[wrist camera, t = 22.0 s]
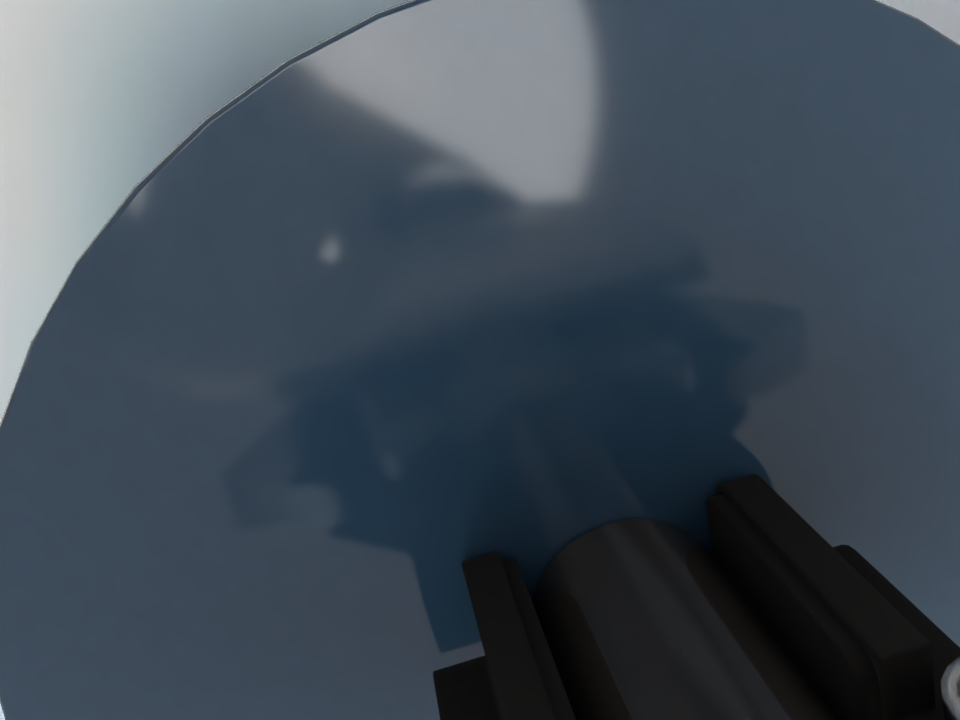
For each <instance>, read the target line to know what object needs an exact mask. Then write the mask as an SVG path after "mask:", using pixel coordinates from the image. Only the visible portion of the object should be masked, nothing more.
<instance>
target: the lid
mask: <svg viewBox="0 0 960 720" xmlns="http://www.w3.org/2000/svg"><path fill="white" fill-rule="evenodd" d="M751 474H757V475H758V476H760V477H761V478H762V479H763V480H764V481H765V482H766V483H767V484H768V485H769V486H770V487H771V488H772V489H773V490H774V491H775V492H776V493H777V494H778V495H779V496H780V497H781V498H782V499H784V500H785V501H786V502H787V503H788V504H789V505H790V506H791V507H792V508H793V509H794V510H795V511H796V512H797V513H798V514H799V515H800V516H801V517H802V518H803V519H804V520H805V521H806V522H807V523H808V524H809V525H810V526H811V527H812V528H813V529H814V530H815V531H816V532H817V533H818V534H819V535H820V536H821V537H822V538H824V539H825V540H826V541H827V542H828V543H829V544H830V545H831V546H832V547H836V546H839V545H842V544H843V545H849V546H850V547H852V548H853V549H855V550H856V551H857V552H858V553H859V554H860V555H862V556H863V557H864V558H865V559H866V560H867V561H868V562H869V563H870V564H871V565H872V566H873V567H874V568H875V569H876V570H878V571H879V572H880V573H881V574H882V575H883V576H884V577H885V578H886V579H887V580H888V581H889V582H890V583H891V584H892V585H894V586H895V587H896V588H897V589H898V590H899V591H900V592H901V593H902V594H903V595H904V596H905V597H906V598H907V599H908V600H910V601H911V602H912V603H913V604H914V605H915V606H916V607H917V608H918V609H919V610H920V611H921V612H922V613H923V614H924V615H926V616H927V617H928V618H929V619H930V620H931V621H932V622H933V623H934V624H935V625H936V626H937V627H938V628H939V629H940V630H942V631H943V632H944V633H945V634H946V635H947V636H948V637H949V638H950V639H951V640H952V641H953V642H954V643H955V644H956V645H958V646H959V647H960V45H959V44H957V43H955V42H954V41H952V40H951V39H949V38H948V37H946V36H944V35H943V34H941V33H940V32H938V31H937V30H935V29H934V28H932V27H930V26H929V25H927V24H926V23H924V22H923V21H921V20H920V19H918V18H916V17H914V16H911V15H909V14H907V13H904V12H902V11H900V10H897V9H895V8H893V7H890V6H888V5H886V4H884V3H881V2H879V1H877V0H411V1H408V2H405V3H403V4H400V5H397V6H394V7H391V8H389V9H386V10H383V11H380V12H377V13H375V14H373V15H371V16H370V17H368V18H366V19H364V20H362V21H360V22H358V23H356V24H354V25H352V26H350V27H349V28H347V29H345V30H343V31H341V32H339V33H337V34H335V35H333V36H331V37H329V38H328V39H326V40H324V41H322V42H320V43H318V44H316V45H314V46H312V47H310V48H308V49H307V50H305V51H303V52H301V53H299V54H297V55H295V56H293V57H291V58H289V59H287V60H286V61H285V62H283V63H282V64H281V65H279V66H278V67H276V68H275V69H274V70H272V71H271V72H269V73H268V74H267V75H265V76H264V77H262V78H261V79H260V80H258V81H257V82H255V83H254V84H253V85H251V86H250V87H249V88H247V89H246V90H244V91H243V92H242V93H240V94H239V95H237V96H236V97H235V98H233V99H232V100H230V101H229V102H228V103H226V104H225V105H223V106H222V107H221V108H219V109H218V110H217V111H215V112H214V113H212V114H211V115H210V116H208V117H207V118H206V119H204V120H203V121H202V122H201V123H200V124H199V125H198V126H197V127H196V128H195V129H194V130H193V131H192V132H191V133H190V134H189V135H188V136H187V137H186V138H185V139H184V140H183V141H182V142H181V143H180V144H178V145H177V146H176V147H175V148H174V149H173V150H172V151H171V152H170V153H169V154H168V155H167V156H166V157H165V158H164V159H163V160H162V161H161V162H160V163H159V164H158V165H157V166H156V167H155V168H153V169H152V170H151V171H150V172H149V173H148V174H147V175H146V176H145V177H144V178H143V179H142V180H141V181H140V182H139V183H138V184H137V185H136V186H135V187H134V188H133V189H132V191H131V192H130V193H129V195H128V196H127V197H126V198H125V200H124V201H123V202H122V204H121V205H120V206H119V207H118V209H117V210H116V211H115V213H114V214H113V215H112V216H111V218H110V219H109V220H108V222H107V223H106V224H105V225H104V227H103V228H102V229H101V231H100V232H99V233H98V234H97V236H96V237H95V238H94V240H93V241H92V242H91V243H90V245H89V246H88V247H87V249H86V250H85V251H84V252H83V254H82V255H81V256H80V258H79V259H78V260H77V261H76V263H75V265H74V267H73V268H72V270H71V272H70V274H69V276H68V277H67V279H66V281H65V283H64V284H63V286H62V288H61V290H60V291H59V293H58V295H57V297H56V299H55V300H54V302H53V304H52V306H51V307H50V309H49V311H48V313H47V315H46V316H45V318H44V320H43V322H42V323H41V325H40V327H39V329H38V331H37V332H36V334H35V336H34V338H33V339H32V341H31V344H30V346H29V349H28V351H27V354H26V357H25V359H24V362H23V365H22V367H21V370H20V373H19V375H18V378H17V381H16V383H15V386H14V389H13V391H12V394H11V397H10V399H9V402H8V405H7V407H6V410H5V412H4V415H3V418H2V420H1V423H0V703H1V706H2V709H3V713H4V716H5V720H440V715H439V709H438V703H437V697H436V691H435V685H434V679H433V671H436V670H439V669H442V668H446V667H449V666H452V665H455V664H459V663H462V662H465V661H468V660H471V659H475V658H478V657H481V656H484V655H485V653H484V649H483V645H482V641H481V637H480V634H479V630H478V626H477V622H476V618H475V614H474V611H473V607H472V603H471V599H470V595H469V591H468V588H467V584H466V580H465V576H464V572H463V568H462V565H461V562H464V561H467V560H470V559H473V558H477V557H480V556H483V555H487V554H490V553H493V552H497V551H498V553H499V556H500V559H501V561H503V560H506V559H509V558H513V557H516V560H517V563H518V565H519V568H520V571H521V573H522V576H523V579H524V581H525V584H526V587H527V589H528V592H529V595H530V597H531V600H532V603H533V605H534V608H535V611H536V614H537V616H538V619H539V622H540V624H541V627H542V630H543V632H544V635H545V638H546V640H547V643H548V646H549V648H550V651H551V654H552V656H553V659H554V662H555V664H556V667H557V670H558V672H559V675H560V678H561V681H562V683H563V686H564V689H565V691H566V694H567V697H568V699H569V702H570V705H571V707H572V710H573V713H574V715H575V718H576V720H840V719H839V718H838V717H837V715H836V714H835V713H834V712H833V710H832V709H831V708H830V706H829V705H828V704H827V703H826V701H825V700H824V699H823V697H822V696H821V695H820V693H819V692H818V691H817V690H816V688H815V687H814V686H813V684H812V683H811V682H810V681H809V679H808V678H807V677H806V675H805V674H804V673H803V671H802V670H801V669H800V668H799V666H798V665H797V664H796V662H795V661H794V660H793V659H792V657H791V656H790V655H789V653H788V652H787V651H786V650H785V648H784V647H783V646H782V644H781V643H780V642H779V640H778V639H777V638H776V637H775V635H774V634H773V633H772V631H771V630H770V629H769V628H768V626H767V625H766V624H765V622H764V621H763V620H762V618H761V617H760V616H759V615H758V613H757V612H756V611H755V609H754V608H753V607H752V606H751V604H750V603H749V602H748V600H747V599H746V598H745V596H744V595H743V594H742V593H741V591H740V590H739V589H738V587H737V586H736V585H735V584H734V582H733V581H732V580H731V578H730V577H729V576H728V574H727V573H726V572H725V571H724V569H723V568H722V567H721V565H720V564H719V563H718V562H717V560H716V559H715V554H714V548H713V542H712V537H711V531H710V525H709V520H708V514H707V507H706V500H707V499H708V498H711V497H714V496H716V487H717V485H718V484H721V483H725V482H728V481H731V480H735V479H738V478H741V477H745V476H748V475H751Z"/></svg>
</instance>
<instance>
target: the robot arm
mask: <svg viewBox="0 0 960 720" xmlns="http://www.w3.org/2000/svg"><path fill="white" fill-rule="evenodd" d="M706 507H707V514H708V520H709V525H710V531H711V537H712V542H713V548H714V554H715V559H716V560H717V562H718V563H719V564H720V565H721V567H722V568H723V569H724V571H725V572H726V573H727V574H728V576H729V577H730V578H731V580H732V581H733V582H734V584H735V585H736V586H737V587H738V589H739V590H740V591H741V593H742V594H743V595H744V596H745V598H746V599H747V600H748V602H749V603H750V604H751V606H752V607H753V608H754V609H755V611H756V612H757V613H758V615H759V616H760V617H761V618H762V620H763V621H764V622H765V624H766V625H767V626H768V628H769V629H770V630H771V631H772V633H773V634H774V635H775V637H776V638H777V639H778V640H779V642H780V643H781V644H782V646H783V647H784V648H785V650H786V651H787V652H788V653H789V655H790V656H791V657H792V659H793V660H794V661H795V662H796V664H797V665H798V666H799V668H800V669H801V670H802V671H803V673H804V674H805V675H806V677H807V678H808V679H809V681H810V682H811V683H812V684H813V686H814V687H815V688H816V690H817V691H818V692H819V693H820V695H821V696H822V697H823V699H824V700H825V701H826V703H827V704H828V705H829V706H830V708H831V709H832V710H833V712H834V713H835V714H836V715H837V717H838V718H839V719H840V720H960V647H959V646H958V645H956V644H955V643H954V642H953V641H952V640H951V639H950V638H949V637H948V636H947V635H946V634H945V633H944V632H943V631H942V630H940V629H939V628H938V627H937V626H936V625H935V624H934V623H933V622H932V621H931V620H930V619H929V618H928V617H927V616H926V615H924V614H923V613H922V612H921V611H920V610H919V609H918V608H917V607H916V606H915V605H914V604H913V603H912V602H911V601H910V600H908V599H907V598H906V597H905V596H904V595H903V594H902V593H901V592H900V591H899V590H898V589H897V588H896V587H895V586H894V585H892V584H891V583H890V582H889V581H888V580H887V579H886V578H885V577H884V576H883V575H882V574H881V573H880V572H879V571H878V570H876V569H875V568H874V567H873V566H872V565H871V564H870V563H869V562H868V561H867V560H866V559H865V558H864V557H863V556H862V555H860V554H859V553H858V552H857V551H856V550H855V549H853V548H852V547H850V546H849V545H843V544H842V545H839V546H836V547H832V546H831V545H830V544H829V543H828V542H827V541H826V540H825V539H824V538H822V537H821V536H820V535H819V534H818V533H817V532H816V531H815V530H814V529H813V528H812V527H811V526H810V525H809V524H808V523H807V522H806V521H805V520H804V519H803V518H802V517H801V516H800V515H799V514H798V513H797V512H796V511H795V510H794V509H793V508H792V507H791V506H790V505H789V504H788V503H787V502H786V501H785V500H784V499H782V498H781V497H780V496H779V495H778V494H777V493H776V492H775V491H774V490H773V489H772V488H771V487H770V486H769V485H768V484H767V483H766V482H765V481H764V480H763V479H762V478H761V477H760V476H758V475H757V474H751V475H748V476H745V477H741V478H738V479H735V480H731V481H728V482H725V483H721V484H718V485H717V487H716V496H714V497H711V498H708V499H707V500H706ZM461 565H462V568H463V572H464V576H465V580H466V584H467V588H468V591H469V595H470V599H471V603H472V607H473V611H474V614H475V618H476V622H477V626H478V630H479V634H480V637H481V641H482V645H483V649H484V653H485V655H484V656H481V657H478V658H475V659H471V660H468V661H465V662H462V663H459V664H455V665H452V666H449V667H446V668H442V669H439V670H436V671H433V679H434V685H435V691H436V697H437V703H438V709H439V715H440V720H576V718H575V715H574V713H573V710H572V707H571V705H570V702H569V699H568V697H567V694H566V691H565V689H564V686H563V683H562V681H561V678H560V675H559V672H558V670H557V667H556V664H555V662H554V659H553V656H552V654H551V651H550V648H549V646H548V643H547V640H546V638H545V635H544V632H543V630H542V627H541V624H540V622H539V619H538V616H537V614H536V611H535V608H534V605H533V603H532V600H531V597H530V595H529V592H528V589H527V587H526V584H525V581H524V579H523V576H522V573H521V571H520V568H519V565H518V563H517V560H516V557H513V558H509V559H506V560H503V561H501V559H500V556H499V553H498V551H497V552H493V553H490V554H487V555H483V556H480V557H477V558H473V559H470V560H467V561H464V562H461Z"/></svg>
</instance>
